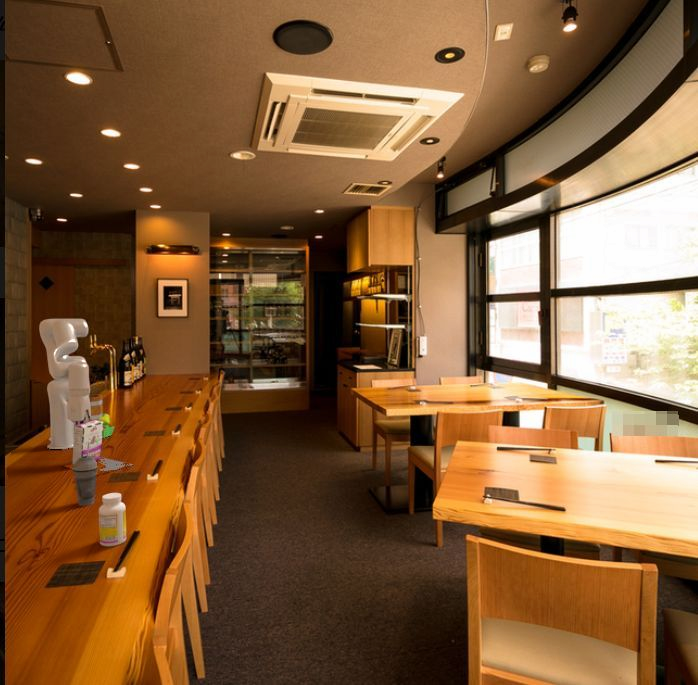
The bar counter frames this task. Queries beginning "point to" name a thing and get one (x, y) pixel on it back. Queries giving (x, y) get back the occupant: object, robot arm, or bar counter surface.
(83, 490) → the beverage cup
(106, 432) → the fruit basket
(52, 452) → the bar counter surface
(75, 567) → the bar counter surface
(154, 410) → the bar counter surface
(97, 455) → the candy bar box
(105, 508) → the supplement bottle
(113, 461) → the mat
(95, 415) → the mug
